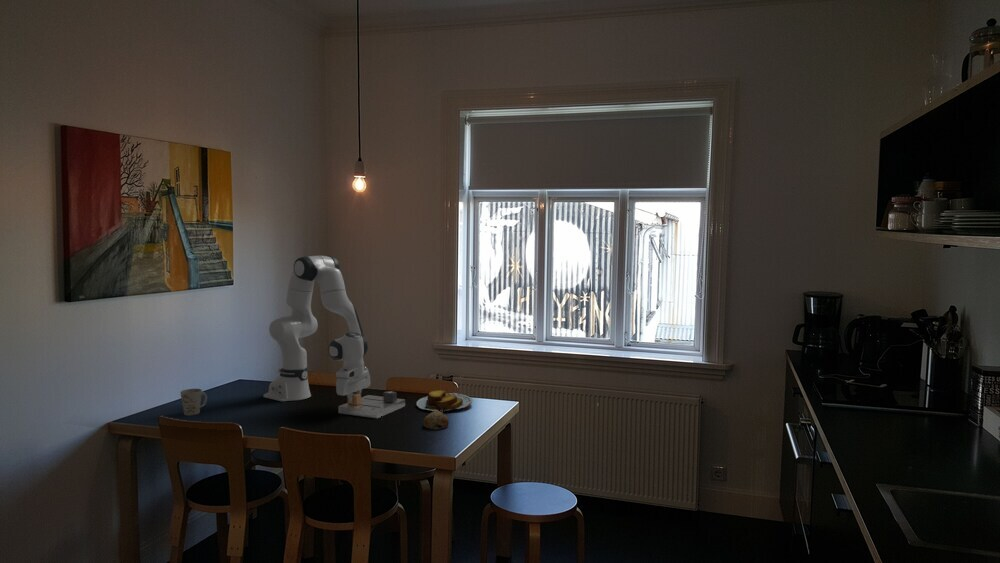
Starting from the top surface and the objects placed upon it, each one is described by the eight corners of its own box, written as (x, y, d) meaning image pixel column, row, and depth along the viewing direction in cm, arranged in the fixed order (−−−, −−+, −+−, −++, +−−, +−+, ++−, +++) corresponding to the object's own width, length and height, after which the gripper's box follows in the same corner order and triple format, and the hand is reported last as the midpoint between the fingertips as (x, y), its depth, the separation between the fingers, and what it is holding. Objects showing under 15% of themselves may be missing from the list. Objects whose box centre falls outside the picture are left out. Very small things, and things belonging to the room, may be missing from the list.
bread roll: (426, 438, 265) (428, 423, 261) (419, 421, 273) (421, 406, 269) (449, 435, 269) (452, 420, 265) (442, 419, 277) (445, 403, 273)
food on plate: (481, 410, 295) (481, 395, 294) (428, 417, 283) (428, 402, 283) (458, 397, 317) (458, 383, 317) (408, 403, 306) (408, 389, 305)
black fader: (383, 401, 295) (383, 392, 295) (387, 399, 298) (387, 390, 298) (392, 402, 293) (392, 393, 293) (396, 401, 296) (396, 392, 296)
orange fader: (347, 403, 291) (347, 394, 291) (351, 402, 294) (351, 393, 294) (356, 405, 289) (356, 395, 289) (361, 403, 292) (361, 394, 292)
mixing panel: (338, 413, 288) (338, 406, 288) (368, 401, 308) (368, 394, 308) (376, 418, 280) (376, 411, 279) (405, 406, 300) (405, 399, 299)
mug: (176, 415, 284) (175, 392, 283) (199, 407, 296) (198, 385, 295) (191, 417, 281) (191, 393, 280) (214, 409, 293) (213, 387, 292)
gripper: (362, 365, 301) (362, 395, 302) (333, 373, 282) (333, 405, 283) (373, 366, 298) (374, 396, 300) (345, 375, 280) (345, 407, 281)
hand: (354, 401), depth 291 cm, fingers closed on orange fader, 3 cm apart
